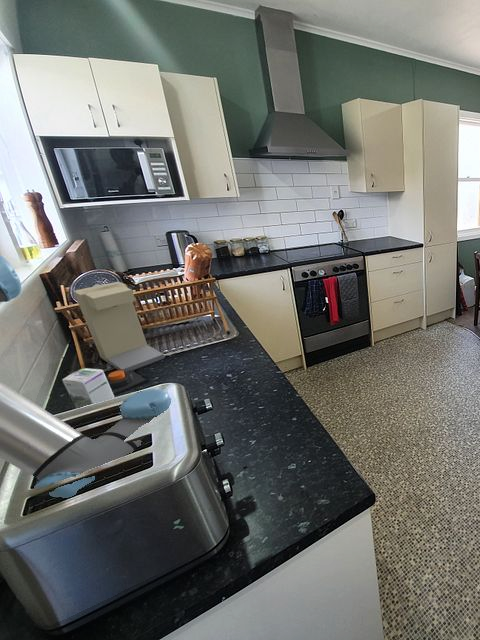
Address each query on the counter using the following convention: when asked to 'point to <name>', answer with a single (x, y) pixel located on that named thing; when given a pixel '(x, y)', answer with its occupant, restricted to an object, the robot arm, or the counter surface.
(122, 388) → the control block
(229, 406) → the counter surface
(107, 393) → the syrup box
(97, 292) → the coffee machine
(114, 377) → the button
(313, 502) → the counter surface
